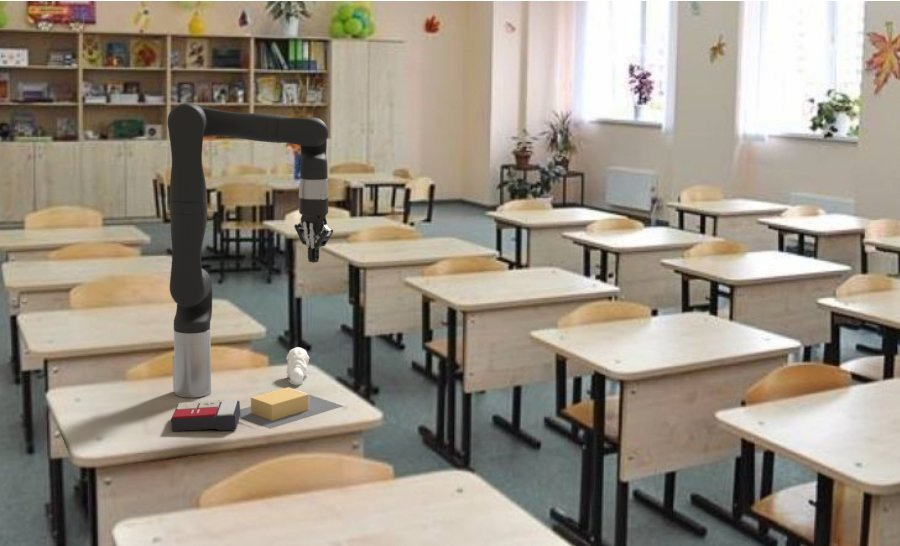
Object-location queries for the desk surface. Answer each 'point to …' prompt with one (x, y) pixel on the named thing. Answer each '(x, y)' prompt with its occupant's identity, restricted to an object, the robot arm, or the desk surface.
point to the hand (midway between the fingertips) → (313, 261)
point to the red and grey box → (206, 415)
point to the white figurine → (297, 365)
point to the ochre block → (279, 403)
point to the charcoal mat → (315, 408)
